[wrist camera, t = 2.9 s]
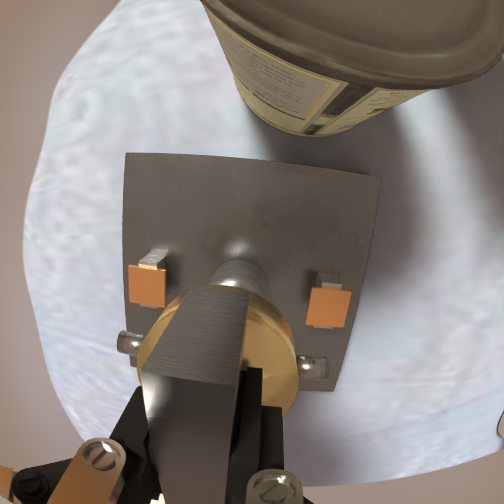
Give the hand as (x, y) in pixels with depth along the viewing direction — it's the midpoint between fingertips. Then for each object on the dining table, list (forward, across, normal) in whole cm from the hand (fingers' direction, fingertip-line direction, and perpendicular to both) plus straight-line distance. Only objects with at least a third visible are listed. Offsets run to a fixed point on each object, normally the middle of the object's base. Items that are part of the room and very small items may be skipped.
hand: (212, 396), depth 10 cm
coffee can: (+13, -3, -15) cm, 20 cm away
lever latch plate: (+12, 0, 0) cm, 12 cm away
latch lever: (+3, 0, 0) cm, 3 cm away
